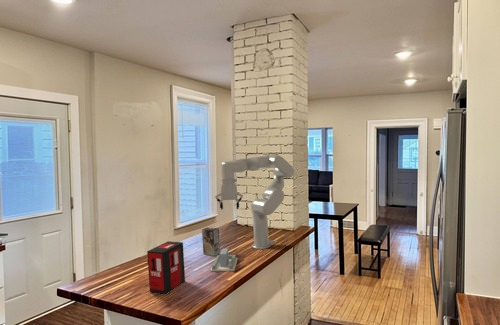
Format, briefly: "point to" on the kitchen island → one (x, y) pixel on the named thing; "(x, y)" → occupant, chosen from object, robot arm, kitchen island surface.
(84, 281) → the kitchen island surface
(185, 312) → the kitchen island surface
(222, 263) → the pale grey cuboid block
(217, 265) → the grey tray
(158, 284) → the cleaning product box
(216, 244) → the coffee box
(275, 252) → the kitchen island surface
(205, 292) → the kitchen island surface
